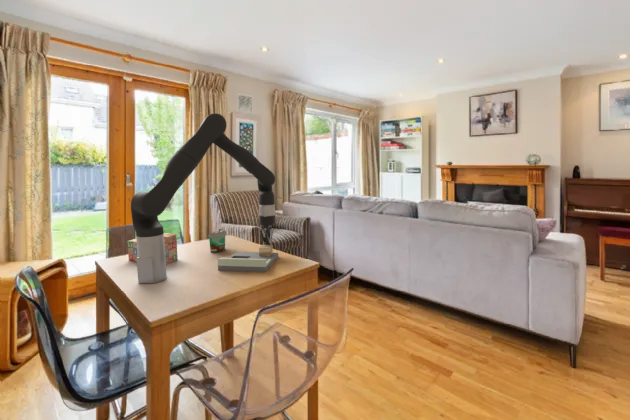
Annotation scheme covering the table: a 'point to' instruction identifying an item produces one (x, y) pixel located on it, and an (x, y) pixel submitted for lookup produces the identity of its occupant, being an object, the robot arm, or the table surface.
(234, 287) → the table surface
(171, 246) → the stack of blocks
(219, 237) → the food container
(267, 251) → the maple block
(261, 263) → the grey panel with windows
